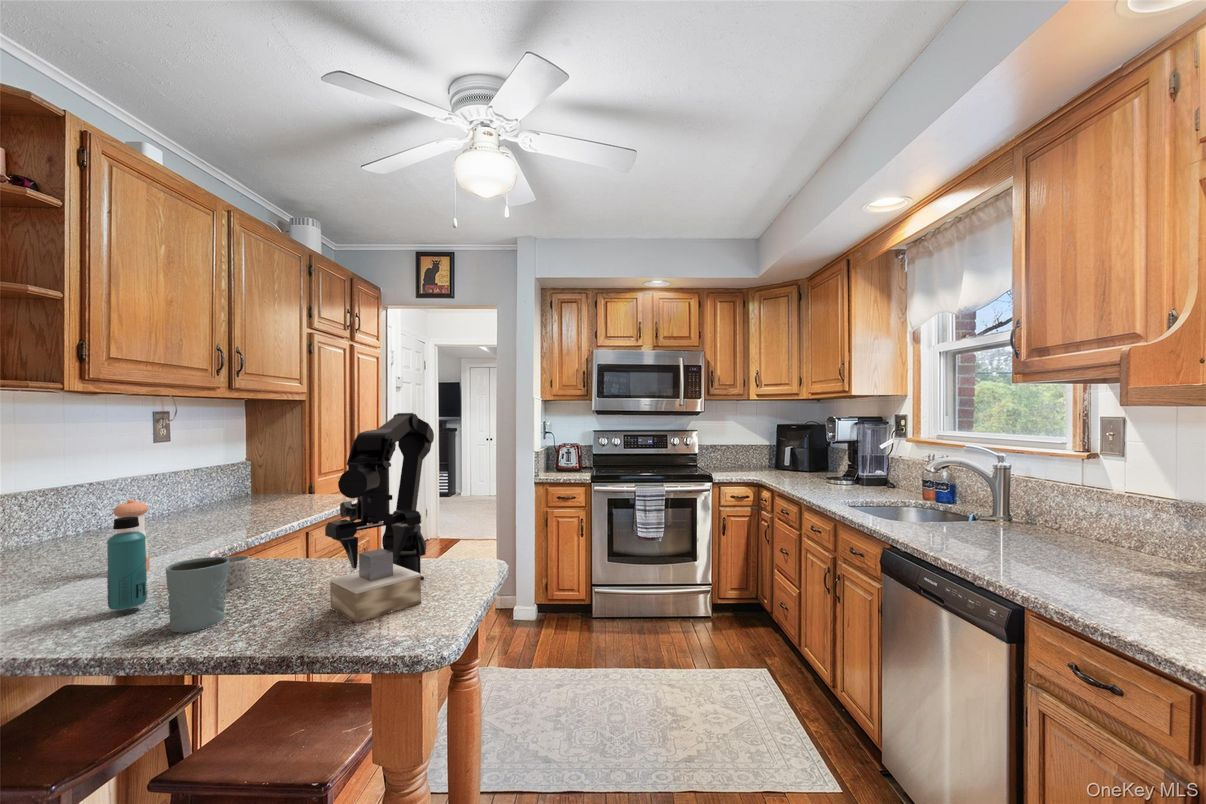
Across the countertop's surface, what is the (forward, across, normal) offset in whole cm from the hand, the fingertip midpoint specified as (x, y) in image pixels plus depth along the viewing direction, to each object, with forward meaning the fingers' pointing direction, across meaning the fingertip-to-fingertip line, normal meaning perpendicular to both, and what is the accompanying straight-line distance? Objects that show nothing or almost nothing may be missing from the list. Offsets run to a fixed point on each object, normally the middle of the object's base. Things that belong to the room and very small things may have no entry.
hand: (375, 563), depth 116 cm
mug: (+9, +17, -39) cm, 44 cm away
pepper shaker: (+9, +29, -76) cm, 82 cm away
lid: (+3, 0, 0) cm, 3 cm away
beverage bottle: (+9, +35, -39) cm, 53 cm away
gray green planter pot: (+9, +27, -19) cm, 34 cm away
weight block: (+3, 0, 0) cm, 3 cm away
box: (+9, 0, 0) cm, 9 cm away
